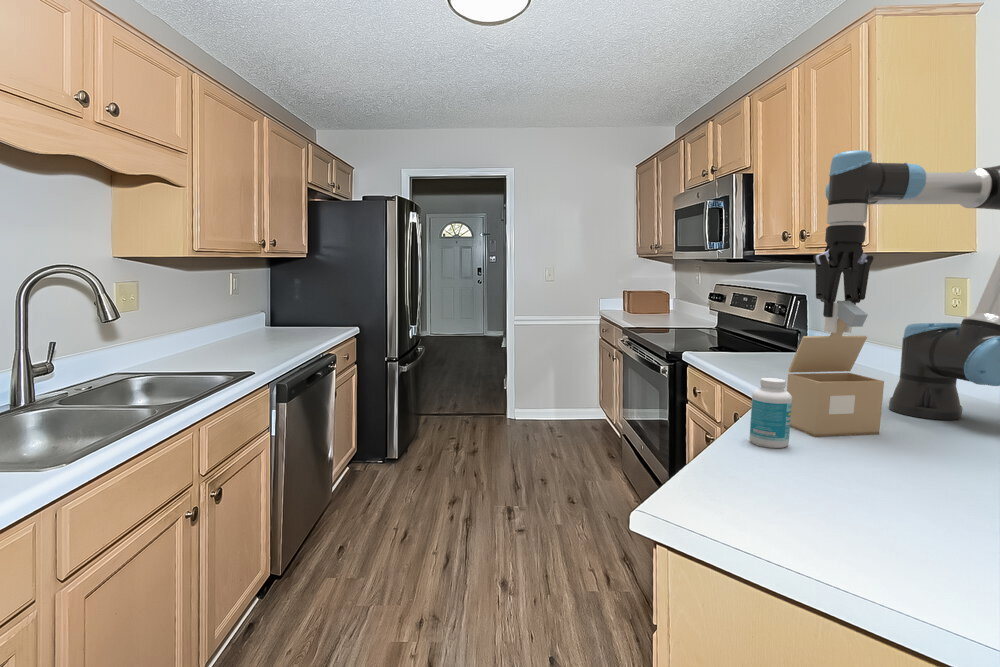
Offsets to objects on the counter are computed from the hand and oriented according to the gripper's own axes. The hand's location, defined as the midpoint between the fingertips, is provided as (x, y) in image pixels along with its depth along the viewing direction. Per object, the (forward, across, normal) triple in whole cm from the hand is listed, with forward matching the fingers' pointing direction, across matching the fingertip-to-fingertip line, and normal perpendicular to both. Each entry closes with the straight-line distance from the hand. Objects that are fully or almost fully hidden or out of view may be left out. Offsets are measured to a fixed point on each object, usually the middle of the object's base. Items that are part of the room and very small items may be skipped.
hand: (837, 331), depth 129 cm
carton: (+22, 0, 0) cm, 22 cm away
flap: (+4, 0, +3) cm, 4 cm away
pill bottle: (+23, +21, +8) cm, 32 cm away
